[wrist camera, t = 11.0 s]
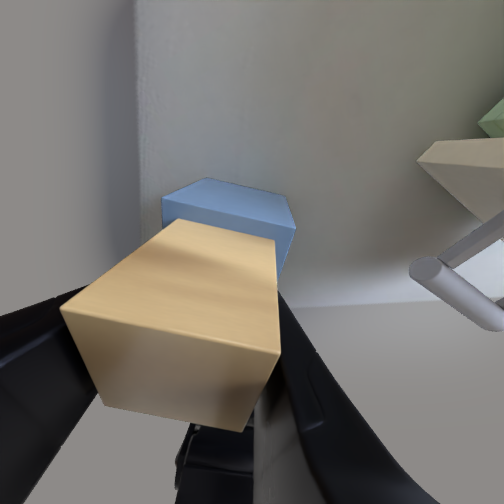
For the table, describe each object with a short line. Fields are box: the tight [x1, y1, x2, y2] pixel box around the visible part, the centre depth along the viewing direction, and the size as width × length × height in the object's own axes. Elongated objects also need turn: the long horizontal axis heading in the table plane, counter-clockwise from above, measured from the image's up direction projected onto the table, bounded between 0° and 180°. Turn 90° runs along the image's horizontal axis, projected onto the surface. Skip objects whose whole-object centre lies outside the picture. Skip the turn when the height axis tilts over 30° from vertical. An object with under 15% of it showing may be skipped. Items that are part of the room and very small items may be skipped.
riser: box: [161, 178, 296, 281], centre depth 11 cm, size 6×6×6 cm
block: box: [60, 219, 281, 432], centre depth 7 cm, size 4×4×5 cm
